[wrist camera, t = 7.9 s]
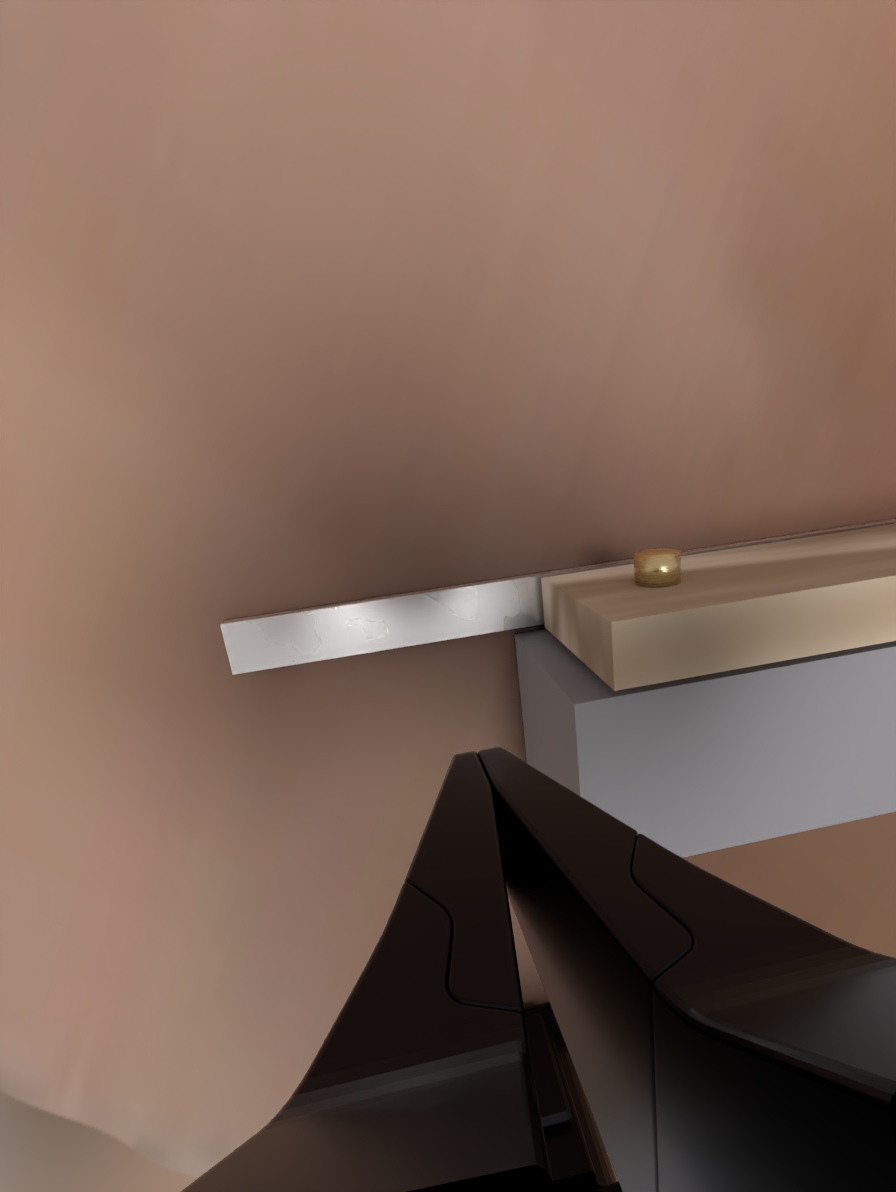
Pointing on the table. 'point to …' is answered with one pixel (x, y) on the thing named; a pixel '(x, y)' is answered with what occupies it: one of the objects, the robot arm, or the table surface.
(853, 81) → the table surface
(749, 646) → the door
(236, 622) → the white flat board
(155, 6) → the table surface
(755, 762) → the cabinet
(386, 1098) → the robot arm
